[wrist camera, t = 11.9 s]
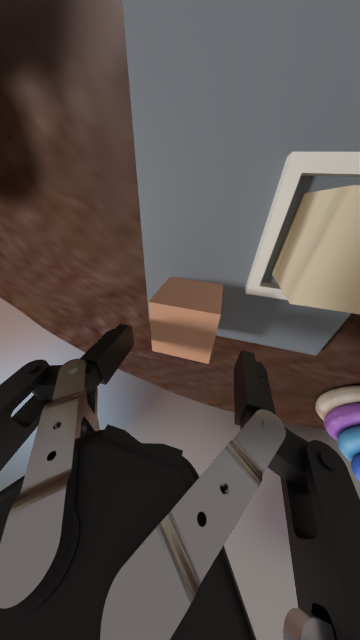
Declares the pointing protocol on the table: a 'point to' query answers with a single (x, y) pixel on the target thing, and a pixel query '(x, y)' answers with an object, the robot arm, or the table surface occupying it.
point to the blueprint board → (241, 145)
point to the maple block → (323, 251)
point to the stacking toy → (343, 421)
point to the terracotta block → (185, 318)
